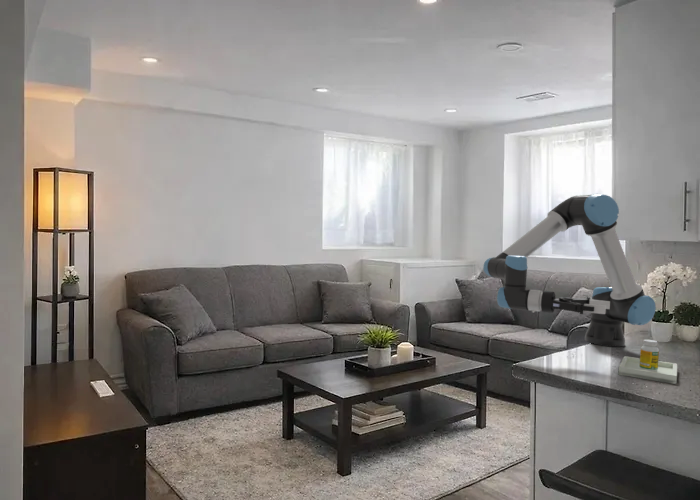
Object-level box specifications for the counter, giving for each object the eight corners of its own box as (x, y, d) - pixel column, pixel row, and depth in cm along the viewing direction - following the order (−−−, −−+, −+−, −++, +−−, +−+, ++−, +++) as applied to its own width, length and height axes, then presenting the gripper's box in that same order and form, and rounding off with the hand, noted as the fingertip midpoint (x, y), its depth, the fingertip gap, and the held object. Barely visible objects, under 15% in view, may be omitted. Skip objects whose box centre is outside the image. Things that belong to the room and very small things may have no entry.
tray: (623, 363, 199) (624, 356, 199) (676, 371, 191) (677, 363, 191) (618, 374, 182) (619, 366, 182) (676, 384, 174) (676, 375, 174)
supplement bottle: (644, 367, 190) (647, 338, 190) (660, 371, 186) (663, 341, 185) (635, 368, 187) (638, 339, 187) (652, 372, 183) (654, 342, 182)
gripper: (548, 307, 213) (610, 313, 203) (534, 316, 192) (602, 323, 181) (549, 287, 213) (611, 292, 203) (535, 294, 191) (604, 300, 181)
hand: (607, 307), depth 192 cm, fingers open, 13 cm apart
